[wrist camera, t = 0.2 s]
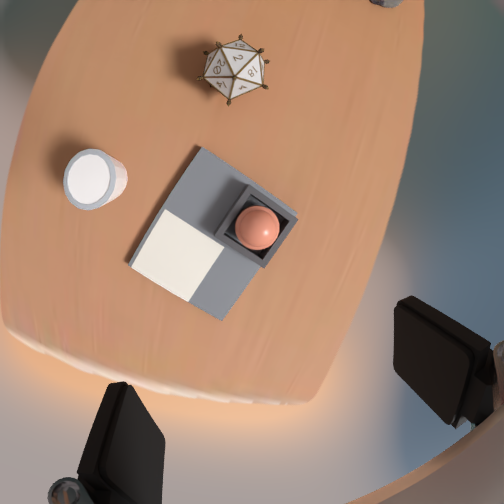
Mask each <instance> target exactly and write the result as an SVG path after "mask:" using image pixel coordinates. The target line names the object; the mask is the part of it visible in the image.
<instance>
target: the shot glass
mask: <svg viewBox="0 0 504 504" xmlns="http://www.w3.org/2000/svg"><path fill="white" fill-rule="evenodd" d="M127 179H128V178H127V172H126V169H125V167H124V166H123V164H122V163H121V162H119V161H118V160H116V159H115V158H113V157H111V156H110V155H108V154H106V153H104V152H103V151H101V150H97V149H87V150H84V151H81V152H79V153H78V154H76V155H75V156H74V157H73V158H72V159H71V160H70V162H69V164H68V165H67V167H66V169H65V173H64V179H63V184H64V190H65V194H66V196H67V197H68V199H69V201H70V202H71V203H72V204H73V205H75V206H76V207H77V208H79V209H84V210H92V209H96V208H99V207H101V206H103V205H104V204H106V203H108V202H110V201H112V200H114V199H115V198H117V197H118V196H119V195H121V194H122V192H123V191H124V189H125V187H126V184H127Z"/></svg>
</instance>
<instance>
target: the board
mask: <svg viewBox="0 0 504 504" xmlns="http://www.w3.org/2000/svg"><path fill="white" fill-rule="evenodd" d="M252 205H259V206H263V207H265V208H268V209H270V210H271V211H272V212H273V213H274V214H275V215H276V217H277V219H278V221H279V234H278V236H277V238H276V240H275V241H274V243H273V244H272V245H270V246H269V247H267V248H265V249H261V250H253V249H250V248H247V247H246V246H244V245H243V244H242V243H241V242H240V241H239V239H238V237H237V235H236V233H235V220H236V218H237V216H238V214H239V213H240V212H241V211H242V210H243V209H245V208H246V207H249V206H252ZM297 214H298V213H297V212H295V211H294V210H293V209H291V208H290V207H289V206H287V205H286V204H284V203H283V202H282V201H280V200H279V199H278V198H276V197H275V196H273V195H272V194H271V193H269V192H268V191H266V190H265V189H264V188H262V187H261V186H259V185H258V184H256V183H255V182H254V181H252V180H251V179H249V178H248V177H246V176H245V175H244V174H242V173H241V172H239V171H238V170H236V169H235V168H233V167H232V166H230V165H229V164H227V163H226V162H224V161H223V160H222V159H220V158H219V157H217V156H216V155H214V154H212V153H211V152H209V151H208V150H206V149H205V148H203V147H202V148H201V149H200V150H199V152H198V153H197V155H196V156H195V158H194V159H193V160H192V162H191V163H190V165H189V166H188V168H187V169H186V171H185V172H184V174H183V175H182V177H181V178H180V180H179V181H178V183H177V184H176V186H175V187H174V189H173V190H172V192H171V193H170V195H169V197H168V198H167V200H166V201H165V203H164V204H163V206H162V208H161V209H160V211H159V213H158V214H157V216H156V217H155V219H154V221H153V222H152V224H151V226H150V227H149V229H148V231H147V232H146V234H145V236H144V238H143V239H142V241H141V243H140V245H139V246H138V248H137V250H136V252H135V253H134V255H133V257H132V259H131V261H130V262H129V264H128V265H129V266H130V267H131V268H133V269H134V270H136V271H137V272H139V273H141V274H142V275H144V276H145V277H147V278H149V279H150V280H152V281H153V282H155V283H157V284H158V285H160V286H162V287H163V288H165V289H167V290H168V291H170V292H172V293H173V294H175V295H177V296H178V297H180V298H182V299H183V300H185V301H187V302H189V303H191V304H193V305H194V306H196V307H198V308H200V309H201V310H203V311H205V312H207V313H208V314H210V315H212V316H214V317H216V318H217V319H219V320H221V321H222V320H223V319H224V317H225V316H226V315H227V313H228V312H229V310H230V309H231V308H232V306H233V305H234V303H235V302H236V301H237V299H238V298H239V296H240V295H241V294H242V292H243V291H244V289H245V288H246V287H247V285H248V284H249V282H250V281H251V279H252V278H253V277H254V275H255V274H256V272H257V271H258V270H259V268H260V267H263V268H265V267H266V265H267V264H268V262H269V261H270V260H271V258H272V257H273V255H274V254H275V252H276V251H277V250H278V248H279V247H280V245H281V244H282V242H283V241H284V239H285V238H286V237H287V235H288V234H289V232H290V231H291V229H292V228H293V227H294V225H295V224H296V222H297V221H298V219H297V218H296V217H295V216H296V215H297Z"/></svg>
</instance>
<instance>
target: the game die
mask: <svg viewBox="0 0 504 504" xmlns="http://www.w3.org/2000/svg"><path fill="white" fill-rule="evenodd" d="M238 38H239V40H236V41H233V42H230V43H227V44H224V45H222V46H221V44H220V42H216V45H217V47H218V48H216V49H215V50H213V51H212V52H210V53H209V52H207V51H203V53H204V54H205V55H208V56H207V60H206V64H205V69H204V73H203V76H198V78H197V79H196V80H202V79H204V80H206V81H207V82H208V83H209V84H210V87H214V88H215V89H217V90H218V91H219V92H220V93H221V94H222V95H224V96H225V97H226V98H227V99H228V101H227V105H228V106H229V105H230V104H231V99H233V98H236V97H238V96H240V95H243V94H245V93H247V92H250V91H252V90H254V89H257V88H259V87H263V88H264V89H269V88H268V86H266V85H264V84H263V82H264V66H265V63H266V64H267V63H269V62H270V61H269V60H265V61H264V60H263V58H262V56H261V55H260V53H262V52H264V49H261V48H260V49H259V51H257V50H256V49H254V48H253V47H251V46H250V45H248V44H247V43H245V42H244V41H242V39H243V36H242V34H241V35H239V37H238Z"/></svg>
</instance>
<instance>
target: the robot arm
mask: <svg viewBox="0 0 504 504" xmlns="http://www.w3.org/2000/svg"><path fill="white" fill-rule="evenodd" d="M490 345H491V343H490V342H489V341H487V340H486V339H484V338H483V337H481V336H479V335H478V334H476V333H474V332H473V331H471V330H470V329H468V328H466V327H465V326H463V325H461V324H460V323H458V322H457V321H455V320H453V319H451V318H450V317H448V316H447V315H445V314H443V313H442V312H440V311H438V310H437V309H435V308H433V307H431V306H430V305H428V304H426V303H425V302H423V301H421V300H419V299H418V298H416V297H414V296H409V297H407V298H404V299H402V300H400V301H398V303H397V306H396V307H395V308H394V358H393V366H394V370H395V372H396V373H397V374H398V375H399V376H400V377H401V378H402V379H403V380H404V381H405V382H406V383H407V384H408V385H409V386H410V387H411V388H412V389H413V390H414V391H415V392H416V393H417V394H418V395H419V397H420V398H421V399H422V400H423V401H424V402H425V403H426V404H427V405H428V406H429V407H430V408H431V409H432V410H433V411H434V412H435V413H436V414H437V415H438V416H439V417H440V418H441V419H442V420H443V421H444V422H445V423H446V424H448V425H450V424H451V425H452V426H453V427H454V428H455V429H456V428H458V427H459V426H460V425H462V424H463V423H464V422H466V421H467V419H468V420H469V421H470V422H471V432H469V433H468V434H467V435H465V436H464V437H463V438H461V439H460V440H459V441H457V442H456V443H455V444H453V445H452V446H451V447H449V448H448V449H446V450H445V451H443V452H442V453H441V454H439V455H438V456H436V457H434V458H433V459H431V460H430V461H428V462H427V463H425V464H424V465H422V466H420V467H419V468H417V469H415V470H414V471H412V472H410V473H408V474H407V475H405V476H403V477H401V478H399V479H397V480H396V481H394V482H392V483H390V484H388V485H386V486H384V487H382V488H380V489H378V490H376V491H374V492H372V493H369V494H367V495H365V496H363V497H360V498H358V499H356V500H353V501H351V502H348V503H346V504H504V340H503V341H502V342H499V343H498V344H497V345H496V346H495V347H494V350H491V349H490ZM164 454H165V438H164V435H163V434H162V432H161V431H160V429H159V428H158V426H157V425H156V423H155V422H154V420H153V419H152V417H151V416H150V414H149V413H148V411H147V410H146V408H145V406H144V405H143V403H142V401H141V400H140V398H139V396H138V395H137V393H136V391H135V389H134V388H133V387H132V385H128V384H127V383H126V382H124V381H123V382H117V383H111V384H109V385H108V387H107V389H106V392H105V394H104V397H103V399H102V402H101V404H100V407H99V410H98V412H97V415H96V418H95V420H94V423H93V426H92V429H91V431H90V434H89V437H88V440H87V443H86V445H85V448H84V451H83V454H82V457H81V460H80V464H79V467H78V470H77V473H78V474H79V476H78V479H75V478H71V477H65V478H62V479H59V480H57V481H56V482H55V483H53V485H52V486H51V487H50V489H49V492H48V502H49V504H162V485H163V469H164Z"/></svg>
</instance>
